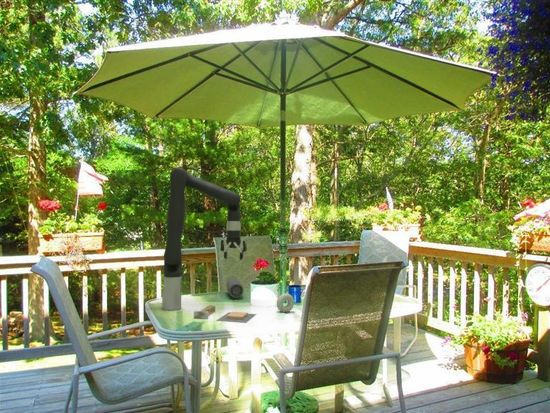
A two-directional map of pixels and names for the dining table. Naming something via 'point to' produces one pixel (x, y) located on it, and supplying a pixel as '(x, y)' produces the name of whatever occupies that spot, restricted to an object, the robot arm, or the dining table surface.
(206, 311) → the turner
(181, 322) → the dining table surface
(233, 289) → the bluetooth speaker
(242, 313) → the tile
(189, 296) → the dining table surface
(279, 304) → the donut
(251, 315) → the mat
